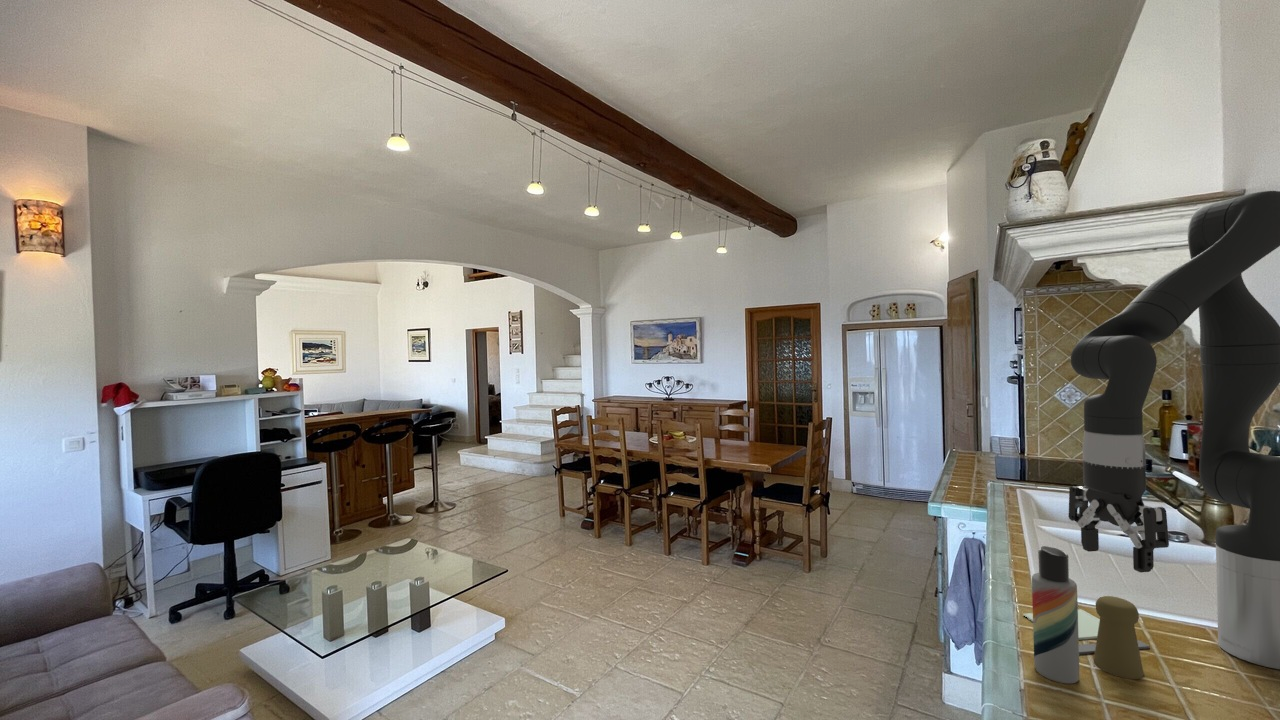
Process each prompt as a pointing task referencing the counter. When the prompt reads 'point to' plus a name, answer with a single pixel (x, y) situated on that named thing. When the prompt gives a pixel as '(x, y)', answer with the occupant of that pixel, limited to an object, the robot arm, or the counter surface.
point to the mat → (1082, 624)
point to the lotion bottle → (1055, 618)
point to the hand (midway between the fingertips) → (1115, 560)
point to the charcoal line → (1091, 647)
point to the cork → (1118, 638)
